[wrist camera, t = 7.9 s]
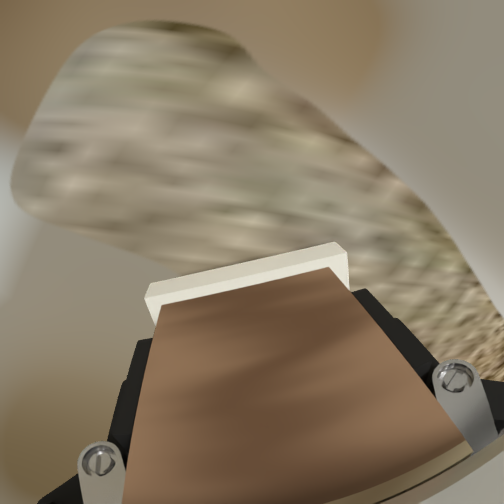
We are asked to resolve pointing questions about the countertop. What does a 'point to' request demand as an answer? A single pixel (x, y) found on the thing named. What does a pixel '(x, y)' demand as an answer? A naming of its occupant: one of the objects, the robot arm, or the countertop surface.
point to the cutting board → (247, 275)
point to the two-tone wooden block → (282, 403)
